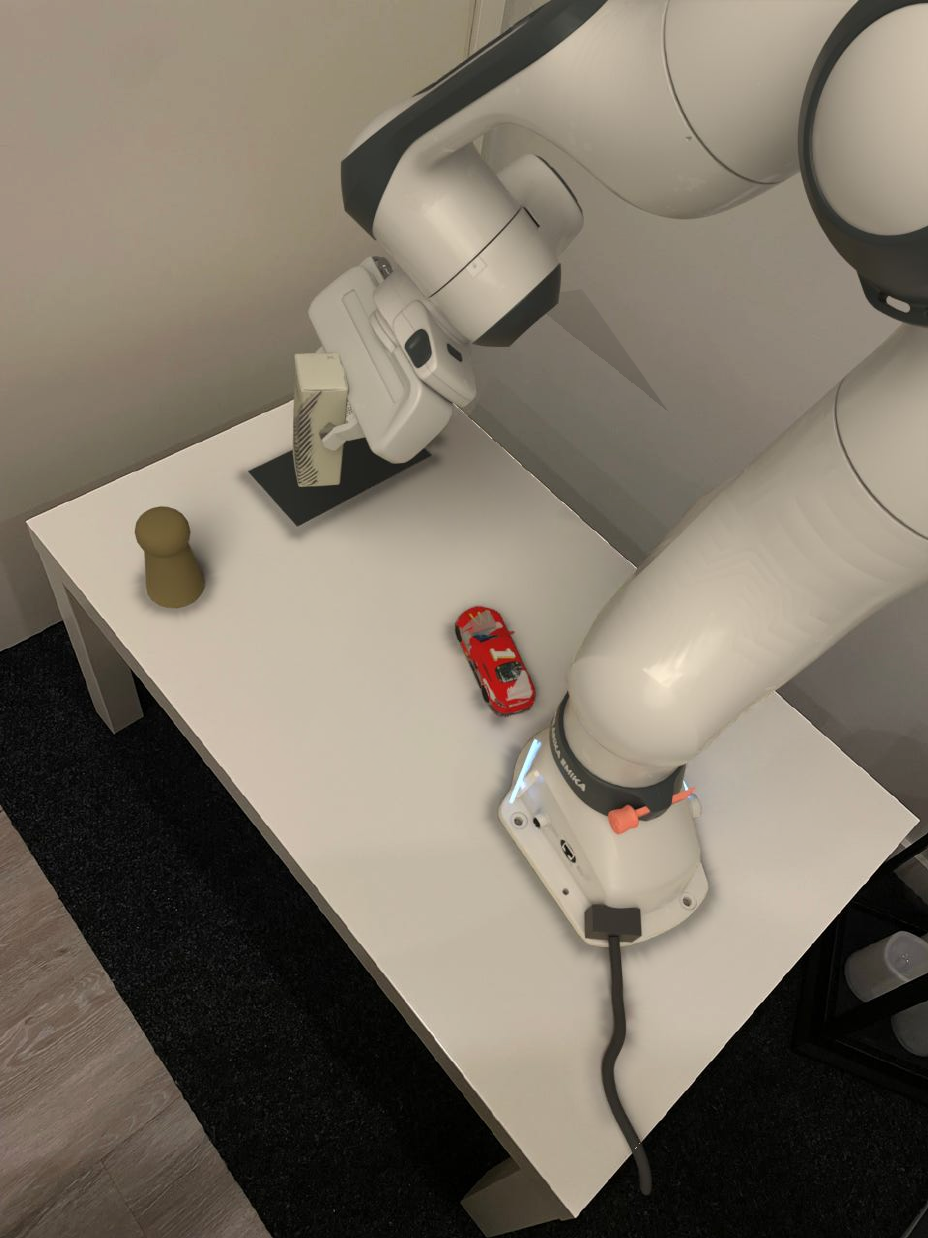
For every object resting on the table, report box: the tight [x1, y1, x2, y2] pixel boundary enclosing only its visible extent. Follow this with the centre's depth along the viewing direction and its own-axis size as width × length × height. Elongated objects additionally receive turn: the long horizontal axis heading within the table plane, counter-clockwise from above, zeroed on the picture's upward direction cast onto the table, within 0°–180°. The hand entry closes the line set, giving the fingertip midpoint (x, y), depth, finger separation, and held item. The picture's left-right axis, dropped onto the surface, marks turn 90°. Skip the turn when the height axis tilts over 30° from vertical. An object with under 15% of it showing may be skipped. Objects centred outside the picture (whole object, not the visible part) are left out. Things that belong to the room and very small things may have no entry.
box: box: [292, 352, 348, 487], centre depth 83 cm, size 5×4×13 cm
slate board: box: [247, 437, 432, 528], centre depth 105 cm, size 20×10×1 cm, turn 131°
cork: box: [134, 505, 206, 609], centre depth 89 cm, size 6×6×11 cm
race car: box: [454, 605, 536, 718], centre depth 92 cm, size 13×5×4 cm, turn 20°
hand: (314, 418), depth 82 cm, fingers closed on box, 5 cm apart
